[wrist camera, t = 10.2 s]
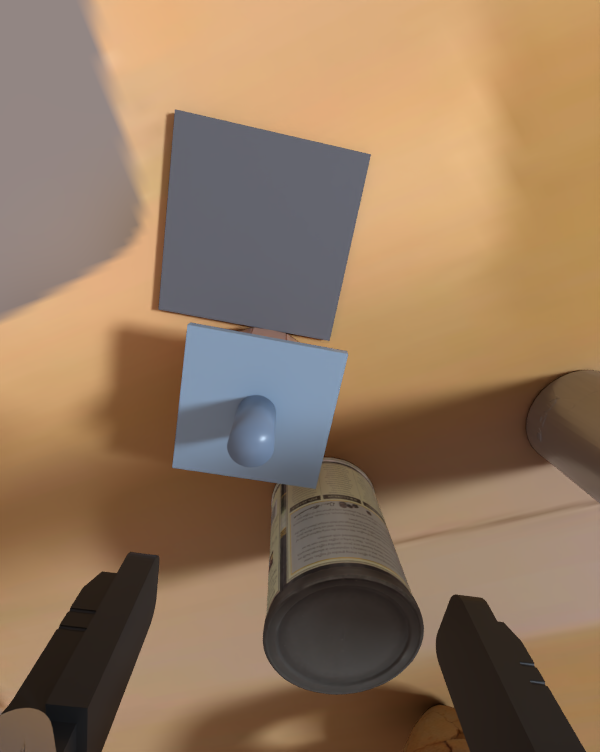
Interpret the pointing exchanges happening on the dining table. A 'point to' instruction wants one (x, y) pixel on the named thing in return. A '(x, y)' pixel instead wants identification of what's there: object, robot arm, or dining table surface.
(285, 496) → the coffee can
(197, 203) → the mat
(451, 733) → the bowl
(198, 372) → the lid
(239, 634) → the dining table surface
